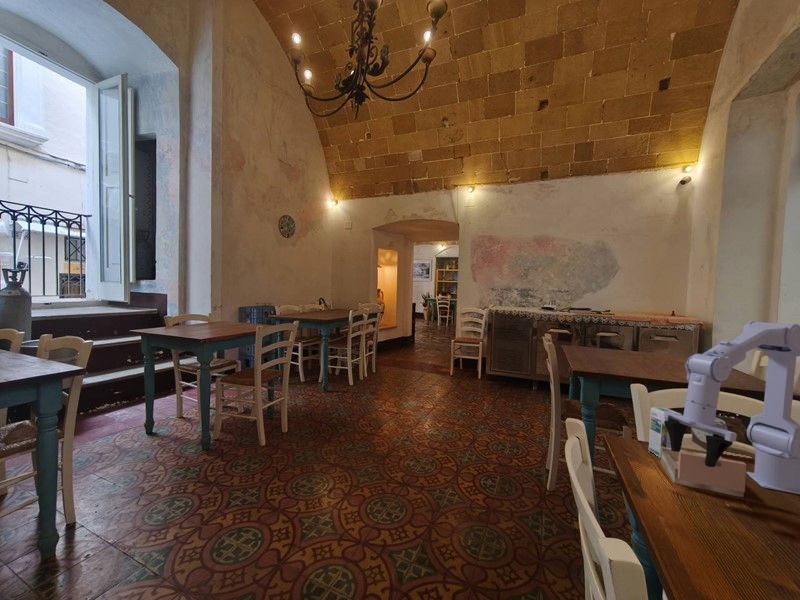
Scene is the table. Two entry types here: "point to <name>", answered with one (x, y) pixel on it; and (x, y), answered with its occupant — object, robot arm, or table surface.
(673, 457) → the tray
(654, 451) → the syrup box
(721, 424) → the food container
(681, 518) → the table surface
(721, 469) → the panel
